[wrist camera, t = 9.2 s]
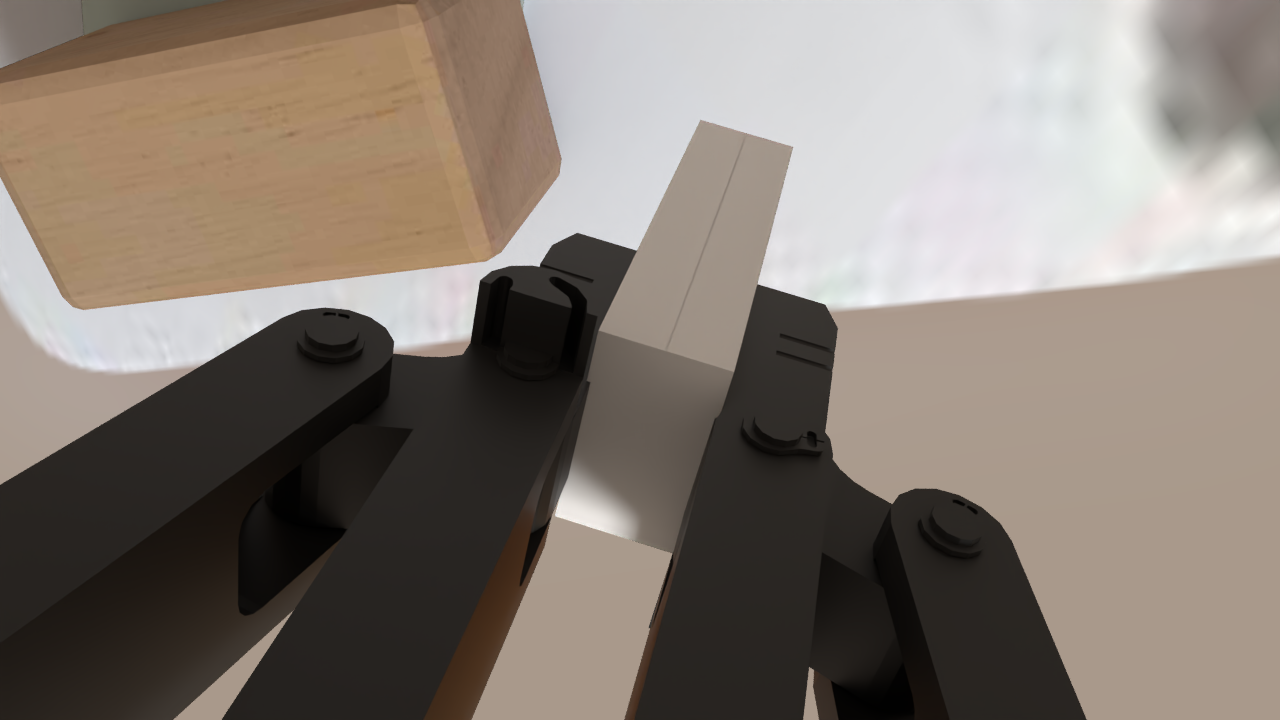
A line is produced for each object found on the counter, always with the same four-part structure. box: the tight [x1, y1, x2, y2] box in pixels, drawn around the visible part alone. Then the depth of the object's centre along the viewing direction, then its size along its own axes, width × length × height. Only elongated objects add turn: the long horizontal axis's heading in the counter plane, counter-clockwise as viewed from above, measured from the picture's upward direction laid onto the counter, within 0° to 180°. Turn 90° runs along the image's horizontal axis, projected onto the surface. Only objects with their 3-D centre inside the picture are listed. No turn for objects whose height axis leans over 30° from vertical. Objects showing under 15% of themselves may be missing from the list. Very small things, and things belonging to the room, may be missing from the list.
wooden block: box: [0, 0, 561, 310], centre depth 45 cm, size 10×10×20 cm
